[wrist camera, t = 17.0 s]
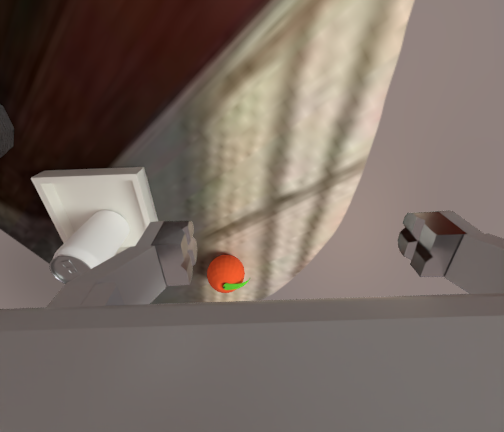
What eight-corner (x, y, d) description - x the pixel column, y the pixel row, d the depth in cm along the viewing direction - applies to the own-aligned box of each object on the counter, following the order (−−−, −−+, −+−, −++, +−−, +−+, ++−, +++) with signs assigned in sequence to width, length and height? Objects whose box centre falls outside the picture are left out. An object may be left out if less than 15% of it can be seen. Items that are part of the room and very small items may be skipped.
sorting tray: (44, 170, 41) (30, 177, 39) (144, 166, 41) (136, 173, 39) (81, 250, 50) (72, 260, 47) (165, 247, 49) (160, 257, 47)
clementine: (250, 247, 50) (250, 273, 43) (249, 274, 53) (249, 302, 47) (208, 246, 49) (202, 272, 43) (210, 273, 53) (205, 301, 47)
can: (106, 243, 48) (66, 293, 37) (84, 214, 45) (34, 260, 34) (137, 234, 47) (105, 283, 36) (117, 204, 44) (76, 248, 33)
